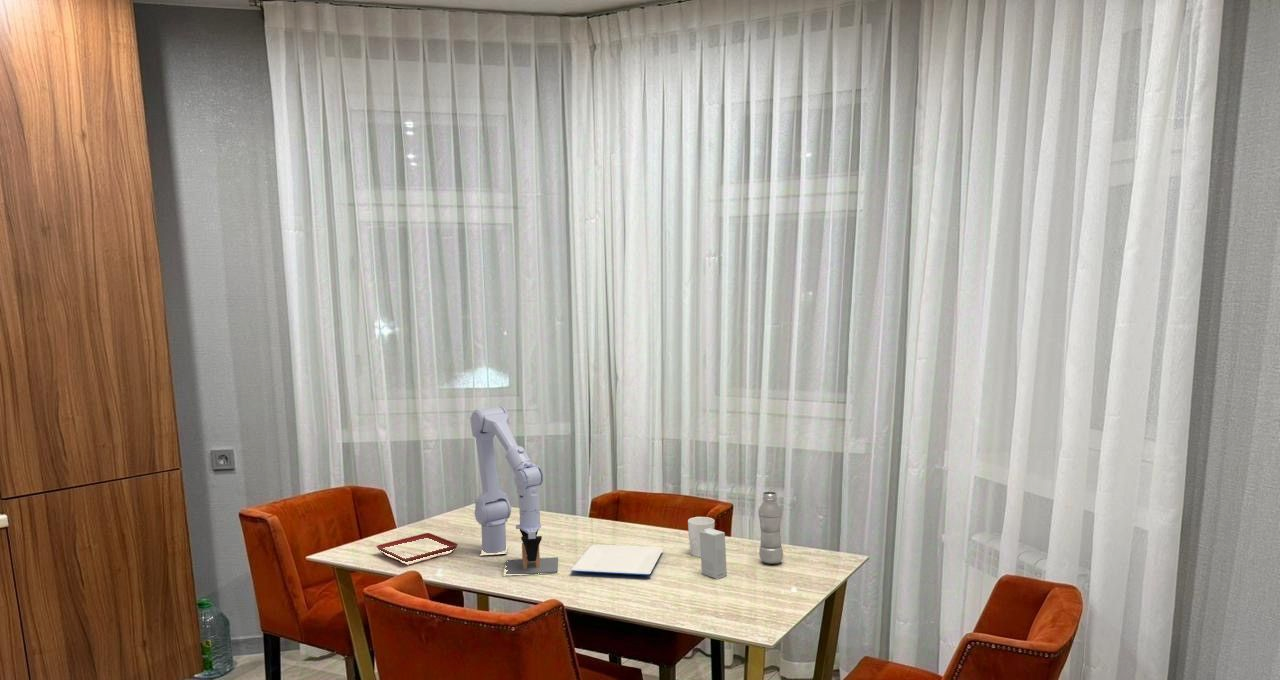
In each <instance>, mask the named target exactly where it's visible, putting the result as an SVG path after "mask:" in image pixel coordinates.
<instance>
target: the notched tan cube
mask: <svg viewBox="0 0 1280 680" xmlns="http://www.w3.org/2000/svg"><path fill="white" fill-rule="evenodd" d="M521 555H522V556H521V559H522V564H523V569H527V562H529V561H528V558H527V553H526V549H525V546H524V543H523V542H522V543H521ZM530 562H535V564H536V568H540V546H539V547H538V551H537V558H536V561H530Z"/></svg>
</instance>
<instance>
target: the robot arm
mask: <svg viewBox="0 0 1280 680" xmlns="http://www.w3.org/2000/svg"><path fill="white" fill-rule="evenodd" d="M509 417H510V416H509V414H508V411H507V409H506V408H505V407H504V406H498V407H491V408H489V407H488V408H481V409H478V408H477V409H474V410H473V412H472V414H471V416H470V428H471V433H472V437H474V438H475V444H476V445H475V446H476V452H477V460H478V467H479V468H478V469H479V475H480V476H479V477H480V484H481V490H482V492H481V493H480V494H479V496H477V498H476V499H475V501H474V503H475V505H474V506H475V507H474V508H475V509H474V518H475V521H476V522H477V523H478V524H479V525H481V549H482V550H483V551H484V552H486V553H498V552H502V551H505V550H506V544H507V534H506V533H507V529H506V527H507V526H506V523H508V519H509V518H510V517H511V514H512V506H511V503H510V502H509V498H508V496H509V495H508V494H507V493H505V491H502V490H501V489H500V484H499V482H500V481H499V474H498V469H497V459H496V453H495V451H496V450H495V446H494V445H495V444H494V438H495V437H496V438H497V439H498V441H499V442H500V444H501V445H502V447H503V448H504V450H505V451H506V454H505V459H506V461H507V463H508V465H509V466H510V468H511V469H512V471H513V473H514V478H513V480H514V484H515V487H516V494H517V495H518V501H519V502H518V503H519V504H518V505H519V506H518V507H519V508H518V509H519V524H516V525H515V529H516V530H519V532H520V534H521V537H520V539H521V541H522V543H524V546H525V549H526V553H527V558H528V561H529V562H530V561H536V558H537V551H538V547H539V548H540V544H541V541H542V535H538V533H539V530H540V529H541V527H542V524H541V512H540V511H541V509H540V508H541V507H540V506H541V504H540V503H541V502H540V501H541V500H540V486H541V485H542V483H543V482H544V474H543V471H542V468H541V467H540V466H539V465H536V464H535V463H534V462H532V461H531V459H530V457H529V456H528V453H527V452H526V450H525V448H524V447H523V446H520V445H518V444H517V441H516V438H515V436H514V435H513V432H512V430H511V428H510V426H509V424H510V418H509ZM537 535H538V536H537Z"/></svg>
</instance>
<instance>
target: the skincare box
mask: <svg viewBox="0 0 1280 680" xmlns="http://www.w3.org/2000/svg"><path fill="white" fill-rule="evenodd" d="M726 547H727V546H726V533H725V532H724V531H721V530H717V529H715V528H714V529H711V528H708V529H705V530H702V531H700V549H701V557H700V564H701V565H700V566H701V567H700V568H701V574H702V575H704V576H707V577H710V578H713V579H716V580H718V579H723V578H724V577H727V574H728V571H727V554H726V553H727V552H726V551H727V549H726Z"/></svg>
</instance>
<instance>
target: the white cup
mask: <svg viewBox="0 0 1280 680" xmlns="http://www.w3.org/2000/svg"><path fill="white" fill-rule="evenodd" d="M687 525H688V526H687V528H688V541H689V542H688V543H689V549H690V550H689V551H690V555H691V556H693V557H696V558H701V549H700V531H702V530H705V529H708V528H711V529H714V530H715V519H714V518H712V517H707V516H695V517H690V518H689V519H688V520H687Z"/></svg>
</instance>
